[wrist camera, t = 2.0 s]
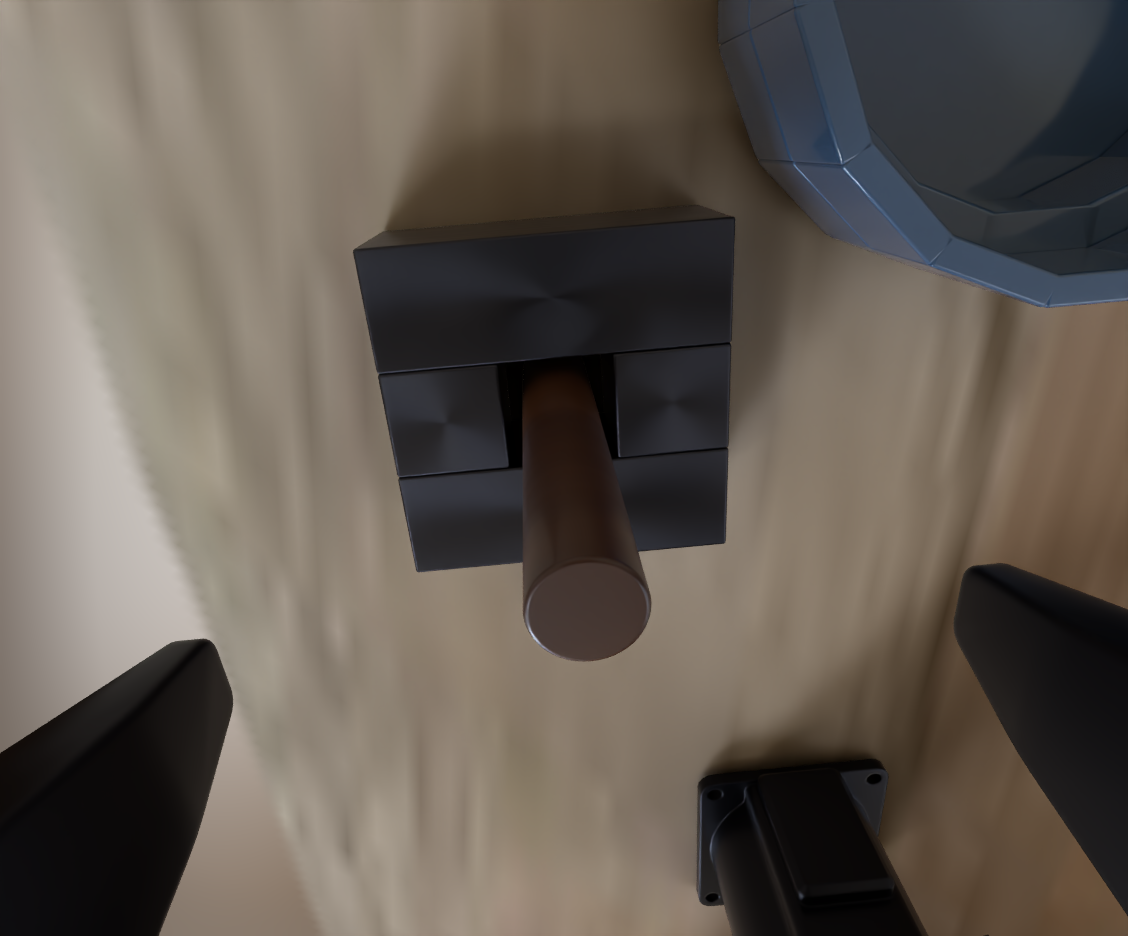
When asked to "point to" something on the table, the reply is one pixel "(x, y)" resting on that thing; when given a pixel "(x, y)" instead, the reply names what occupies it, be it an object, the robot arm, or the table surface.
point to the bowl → (948, 133)
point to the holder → (545, 331)
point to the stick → (575, 522)
